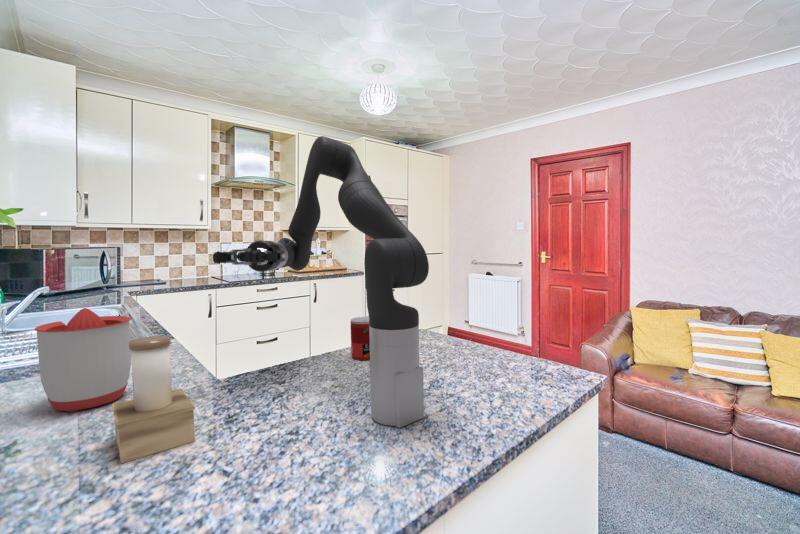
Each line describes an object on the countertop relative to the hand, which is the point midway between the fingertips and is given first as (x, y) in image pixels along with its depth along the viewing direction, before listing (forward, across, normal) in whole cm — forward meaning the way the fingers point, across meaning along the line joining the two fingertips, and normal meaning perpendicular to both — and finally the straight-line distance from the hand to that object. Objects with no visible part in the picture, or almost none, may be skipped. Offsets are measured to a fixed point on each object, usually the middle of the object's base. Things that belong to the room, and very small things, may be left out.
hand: (234, 257), depth 80 cm
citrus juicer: (+2, -32, +30) cm, 44 cm away
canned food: (-32, +21, +30) cm, 49 cm away
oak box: (+18, -6, +30) cm, 35 cm away
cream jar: (+18, -6, +24) cm, 30 cm away
